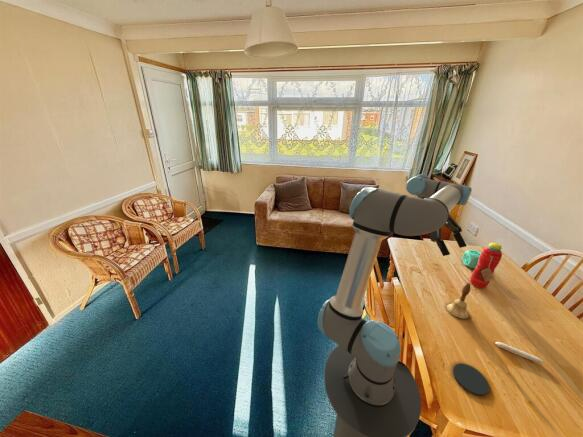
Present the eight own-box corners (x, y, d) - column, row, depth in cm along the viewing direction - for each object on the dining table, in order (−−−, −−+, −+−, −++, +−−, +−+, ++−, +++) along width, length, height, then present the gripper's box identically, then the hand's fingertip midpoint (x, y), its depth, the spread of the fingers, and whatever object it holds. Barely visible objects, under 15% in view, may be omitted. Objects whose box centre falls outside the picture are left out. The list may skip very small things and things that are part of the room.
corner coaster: (472, 399, 72) (473, 398, 72) (445, 368, 81) (446, 367, 81) (496, 390, 75) (496, 389, 74) (467, 361, 83) (468, 360, 83)
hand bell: (443, 310, 104) (454, 283, 98) (450, 301, 109) (461, 275, 102) (465, 322, 99) (478, 294, 92) (470, 312, 104) (483, 285, 97)
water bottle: (487, 296, 112) (508, 254, 101) (467, 289, 117) (485, 248, 106) (487, 283, 121) (506, 243, 110) (469, 277, 125) (485, 238, 114)
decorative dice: (474, 261, 138) (479, 250, 134) (482, 269, 131) (488, 258, 127) (460, 260, 139) (464, 249, 135) (467, 268, 132) (472, 256, 128)
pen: (544, 366, 82) (546, 363, 81) (494, 345, 89) (496, 342, 88) (543, 363, 83) (545, 360, 82) (494, 342, 90) (495, 339, 89)
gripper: (423, 208, 94) (447, 257, 89) (455, 198, 106) (478, 241, 101) (408, 214, 100) (430, 260, 96) (440, 205, 112) (461, 245, 107)
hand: (455, 251), depth 98 cm, fingers open, 13 cm apart
